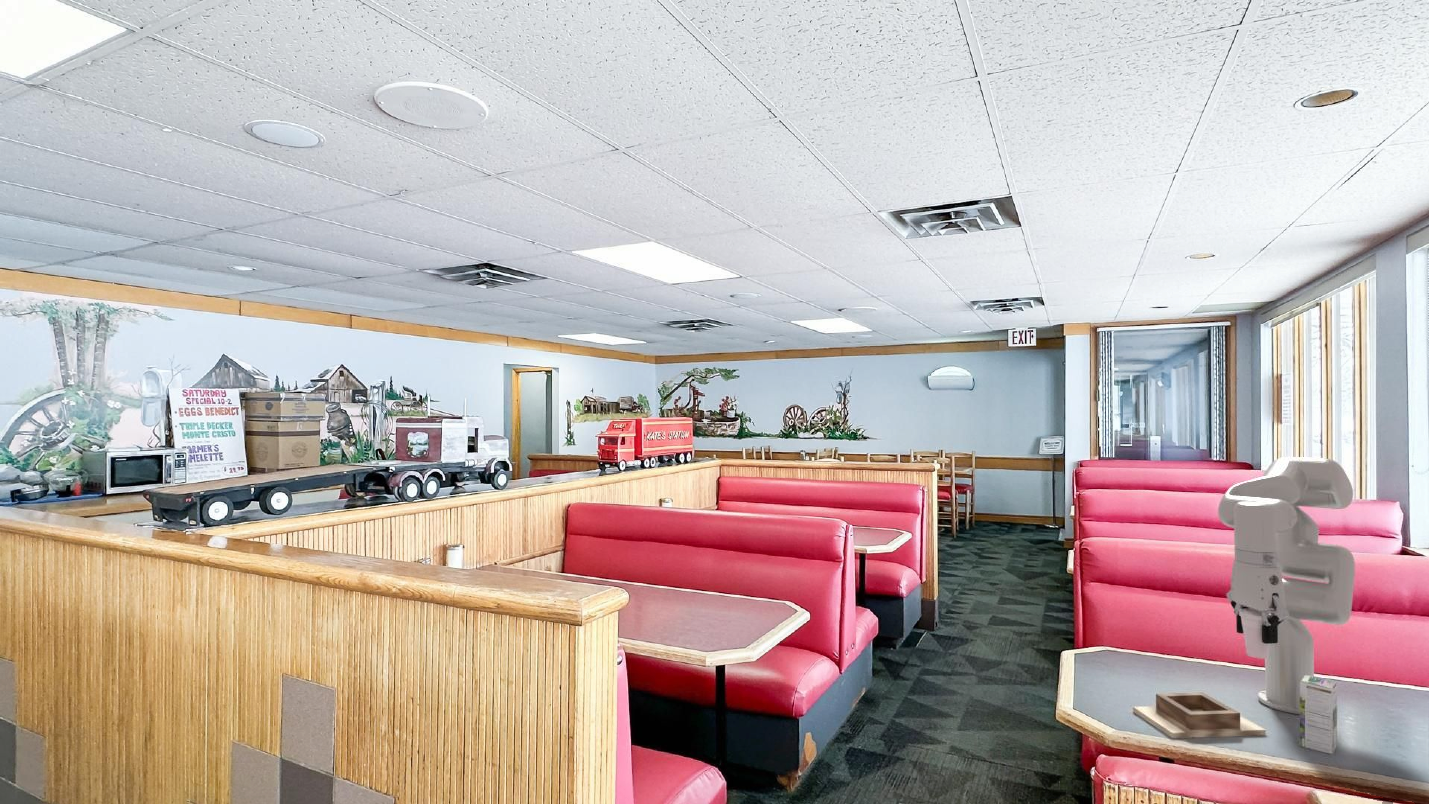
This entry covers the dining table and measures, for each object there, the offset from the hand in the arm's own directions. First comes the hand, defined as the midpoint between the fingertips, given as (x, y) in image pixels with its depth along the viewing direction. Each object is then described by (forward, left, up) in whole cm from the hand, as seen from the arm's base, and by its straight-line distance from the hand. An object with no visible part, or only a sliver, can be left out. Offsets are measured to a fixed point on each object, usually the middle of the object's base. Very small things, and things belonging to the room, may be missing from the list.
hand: (1256, 637), depth 159 cm
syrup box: (-11, +3, -24) cm, 26 cm away
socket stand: (+7, -10, -23) cm, 26 cm away
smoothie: (0, 0, -4) cm, 4 cm away
